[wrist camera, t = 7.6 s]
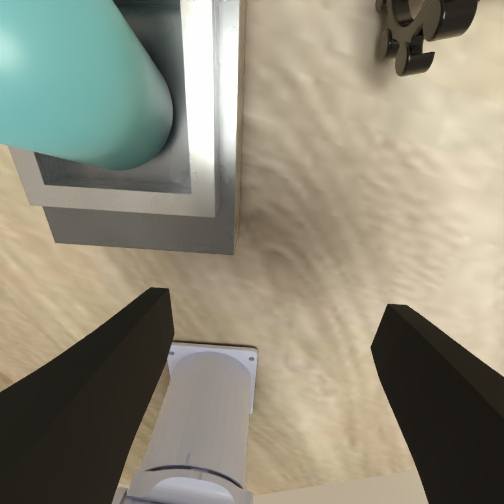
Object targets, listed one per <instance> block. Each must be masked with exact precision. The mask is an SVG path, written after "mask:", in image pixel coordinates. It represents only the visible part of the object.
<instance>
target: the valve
mask: <svg viewBox="0 0 504 504" xmlns="http://www.w3.org/2000/svg"><path fill="white" fill-rule="evenodd" d="M479 1H480V0H425V2H424V4H423V6H422V8H421V10H420V12H419V13H418V15H417V17H416V18H415V19H414V20H413V18H412V17H411V14H410V10H409V4H408V0H376V8H377V10H379V11H381V10H386V9H387V12H388V23H387V28H386V29H385V30H384V31H383V33H382V35H381V38H380V43H379V56H380V58H381V59H382V60H388V59H393V58H396V61H395V69H396V73H397V75H398V76H400V77H402V76H408V75H414V74H419V73H424V72H426V71H427V70H428V69H429V68H430V66H431V64H432V62H433V59H434V54H435V52H429V53H423V54H422V52H423V41H424V39H426V40H427V41H429V42H430V41H436V40H441V39H446V38H452V37H457V36H460V35H462V34H463V33H465V32H466V30H467V29H468V28H469V26H470V25H471V23H472V21H473V19H474V16H475V13H476V9H477V4H478V2H479Z"/></svg>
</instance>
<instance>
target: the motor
mask: <svg viewBox="0 0 504 504" xmlns="http://www.w3.org/2000/svg"><path fill="white" fill-rule="evenodd" d="M112 1H113V2H114V4H115V5H116V7H117V8H118V10H119V11H120V13H121V14H122V16H123V17H124V19H125V20H126V22H127V23H128V25H129V26H130V28H131V29H132V31H133V32H134V34H135V35H136V37H137V38H138V39H139V41H140V42H141V44H142V45H143V47H144V48H145V50H146V51H147V53H148V54H149V56H150V57H151V59H152V60H153V62H154V63H155V65H156V66H157V68H158V69H159V71H160V72H161V74H162V76H163V77H164V79H165V81H166V83H167V86H168V88H169V91H170V95H171V99H172V106H173V120H172V126H171V130H170V134H169V136H168V138H167V141H166V143H165V144H164V146H163V148H162V149H161V150H160V151H159V153H158V154H157V155H156V156H155V157H154V158H153V159H151V160H150V161H148V162H147V163H145V164H143V165H141V166H139V167H136V168H133V169H129V170H119V171H118V170H109V169H104V168H100V167H96V166H91V165H87V164H83V163H79V162H75V161H71V160H67V159H62V158H58V157H54V156H50V155H46V154H42V153H38V152H33V151H29V150H25V149H21V148H17V147H13V146H9V145H8V147H9V150H10V153H11V155H12V158H13V161H14V163H15V166H16V169H17V172H18V174H19V177H20V180H21V182H22V185H23V188H24V190H25V193H26V196H27V198H28V201H29V204H30V205H33V206H43V209H44V212H45V215H46V218H47V220H48V223H49V226H50V229H51V232H52V235H53V238H54V241H55V243H65V244H80V245H94V246H109V247H124V248H139V249H153V250H168V251H183V252H197V253H212V254H227V255H234V251H235V246H236V241H237V237H238V232H239V216H240V185H241V154H242V123H243V93H244V62H245V31H246V0H112Z"/></svg>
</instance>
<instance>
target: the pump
mask: <svg viewBox="0 0 504 504" xmlns="http://www.w3.org/2000/svg"><path fill="white" fill-rule="evenodd" d="M172 120H173V106H172V99H171V95H170V91H169V88H168V86H167V83H166V81H165V79H164V77H163V76H162V74H161V72H160V71H159V69H158V68H157V66H156V65H155V63H154V62H153V60H152V59H151V57H150V56H149V54H148V53H147V51H146V50H145V48H144V47H143V45H142V44H141V42H140V41H139V39H138V38H137V37H136V35H135V34H134V32H133V31H132V29H131V28H130V26H129V25H128V23H127V22H126V20H125V19H124V17H123V16H122V14H121V13H120V11H119V10H118V8H117V7H116V5H115V4H114V2H113V1H112V0H0V144H4V145H9V146H13V147H17V148H21V149H25V150H29V151H33V152H38V153H42V154H46V155H50V156H54V157H58V158H62V159H67V160H71V161H75V162H79V163H83V164H87V165H91V166H96V167H100V168H104V169H109V170H118V171H119V170H129V169H133V168H136V167H139V166H141V165H143V164H145V163H147V162H148V161H150V160H151V159H153V158H154V157H155V156H156V155H157V154H158V153H159V151H160V150H161V149H162V148H163V146H164V144H165V143H166V141H167V138H168V136H169V134H170V130H171V126H172Z"/></svg>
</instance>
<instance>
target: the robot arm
mask: <svg viewBox="0 0 504 504" xmlns="http://www.w3.org/2000/svg"><path fill="white" fill-rule="evenodd" d="M174 334H175V333H174V325H173V317H172V309H171V301H170V293H169V289H168V288H154V287H150V288H149V289H148V290H146V291H145V292H144V293H142V294H141V295H140V296H139V297H137V298H136V299H135V300H133V301H132V302H131V303H130V304H128V305H127V306H126V307H125V308H123V309H122V310H121V311H120V312H118V313H117V314H116V315H114V316H113V317H112V318H110V319H109V320H108V321H106V322H105V323H104V324H102V325H101V326H100V327H99V328H97V329H96V330H95V331H93V332H92V333H90V334H89V335H87V336H86V337H85V338H83V339H82V340H80V341H79V342H77V343H76V344H75V345H73V346H72V347H70V348H69V349H68V350H66V351H65V352H63V353H62V354H60V355H59V356H58V357H56V358H54V359H53V360H51V361H50V362H48V363H47V364H45V365H44V366H42V367H41V368H39V369H38V370H36V371H34V372H33V373H31V374H29V375H28V376H26V377H25V378H23V379H21V380H20V381H18V382H16V383H15V384H13V385H11V386H10V387H8V388H6V389H5V390H3V391H1V392H0V504H253V492H251V491H247V490H245V488H246V468H247V448H248V429H249V414H251V413H252V410H253V400H254V389H255V378H256V367H257V357H258V351H257V350H256V349H255V348H247V347H233V346H219V345H206V344H192V343H178V342H172V341H173V337H174ZM172 351H173V352H172ZM371 351H372V355H373V359H374V363H375V366H376V369H377V373H378V376H379V379H380V381H381V384H382V386H383V389H384V391H385V394H386V396H387V398H388V401H389V403H390V406H391V408H392V410H393V413H394V415H395V417H396V420H397V422H398V424H399V427H400V429H401V431H402V434H403V436H404V438H405V441H406V443H407V445H408V448H409V450H410V452H411V455H412V457H413V460H414V462H415V465H416V468H417V470H418V473H419V476H420V479H421V481H422V485H423V487H424V490H425V494H426V497H427V500H428V503H429V504H504V377H503V376H502V375H500V374H499V373H498V372H496V371H495V370H493V369H492V368H491V367H489V366H488V365H486V364H485V363H484V362H482V361H481V360H480V359H478V358H477V357H476V356H474V355H473V354H472V353H470V352H469V351H468V350H466V349H465V348H464V347H462V346H461V345H460V344H458V343H457V342H456V341H454V340H453V339H452V338H450V337H449V336H448V335H447V334H445V333H444V332H443V331H441V330H440V329H439V328H437V327H436V326H435V325H433V324H432V323H431V322H429V321H428V320H427V319H425V318H424V317H423V316H421V315H420V314H419V313H417V312H416V311H414V310H413V309H412V308H410V307H409V306H407V305H398V304H387V307H386V309H385V312H384V314H383V317H382V320H381V322H380V325H379V327H378V330H377V332H376V335H375V337H374V340H373V343H372V345H371ZM166 361H168V367H169V374H170V383H169V385H168V388H167V391H166V394H165V397H164V400H163V403H162V406H161V409H160V412H159V414H158V417H157V420H156V423H155V426H154V429H153V432H152V435H151V438H150V440H149V443H148V446H147V449H146V452H145V455H144V458H143V461H142V464H141V466H140V469H139V470H136V471H135V473H134V476H133V479H132V482H131V485H130V487H129V490H128V493H127V488H124V487H119V488H117V486H118V483H119V480H120V477H121V474H122V471H123V468H124V465H125V462H126V459H127V456H128V453H129V450H130V448H131V445H132V442H133V440H134V437H135V435H136V432H137V430H138V428H139V425H140V423H141V421H142V418H143V416H144V414H145V411H146V409H147V407H148V404H149V402H150V400H151V397H152V395H153V393H154V390H155V388H156V385H157V383H158V381H159V378H160V376H161V374H162V371H163V369H164V366H165V364H166ZM126 495H127V496H126Z"/></svg>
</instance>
